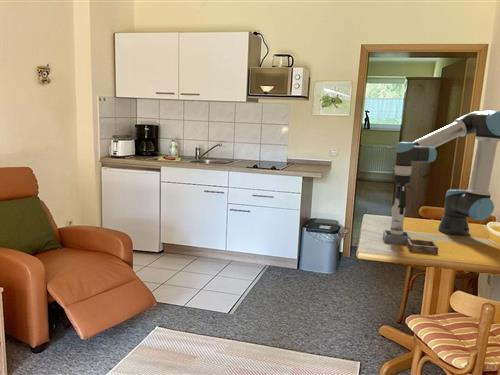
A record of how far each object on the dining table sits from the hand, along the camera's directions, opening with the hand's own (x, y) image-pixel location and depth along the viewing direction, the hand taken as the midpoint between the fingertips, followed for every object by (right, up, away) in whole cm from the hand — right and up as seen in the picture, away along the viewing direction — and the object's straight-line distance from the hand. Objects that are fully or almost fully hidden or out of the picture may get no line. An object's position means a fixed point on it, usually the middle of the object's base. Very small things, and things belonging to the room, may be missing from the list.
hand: (398, 217), depth 217 cm
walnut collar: (+7, -14, -11) cm, 19 cm away
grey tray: (-1, -11, +2) cm, 11 cm away
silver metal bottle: (-1, -11, +2) cm, 11 cm away
